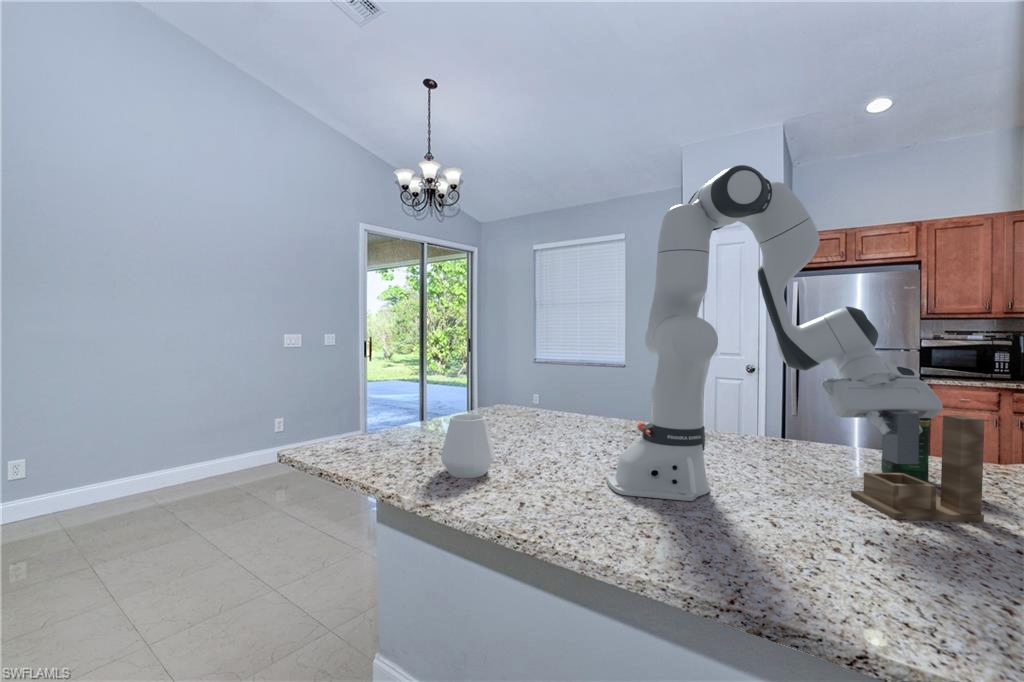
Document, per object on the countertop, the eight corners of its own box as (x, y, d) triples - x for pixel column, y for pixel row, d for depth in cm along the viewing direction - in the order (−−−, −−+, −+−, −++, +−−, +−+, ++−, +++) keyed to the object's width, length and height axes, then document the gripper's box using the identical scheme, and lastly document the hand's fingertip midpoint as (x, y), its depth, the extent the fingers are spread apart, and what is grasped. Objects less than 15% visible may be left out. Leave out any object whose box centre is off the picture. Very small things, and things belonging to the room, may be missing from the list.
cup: (486, 462, 122) (486, 410, 122) (501, 478, 109) (501, 420, 109) (436, 466, 118) (436, 413, 118) (446, 483, 105) (446, 424, 105)
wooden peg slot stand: (894, 519, 86) (897, 418, 86) (851, 496, 98) (853, 407, 98) (983, 521, 85) (987, 420, 85) (928, 497, 97) (931, 408, 97)
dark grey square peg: (897, 464, 90) (898, 413, 90) (882, 458, 94) (882, 410, 94) (918, 464, 90) (919, 413, 90) (902, 458, 94) (903, 410, 94)
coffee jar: (934, 487, 104) (937, 406, 103) (891, 482, 107) (893, 404, 106) (915, 474, 113) (918, 400, 112) (876, 470, 116) (878, 398, 115)
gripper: (826, 370, 99) (857, 424, 90) (924, 369, 98) (966, 424, 88) (813, 387, 104) (841, 441, 94) (907, 387, 102) (945, 441, 93)
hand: (903, 433), depth 91 cm, fingers closed on dark grey square peg, 4 cm apart
